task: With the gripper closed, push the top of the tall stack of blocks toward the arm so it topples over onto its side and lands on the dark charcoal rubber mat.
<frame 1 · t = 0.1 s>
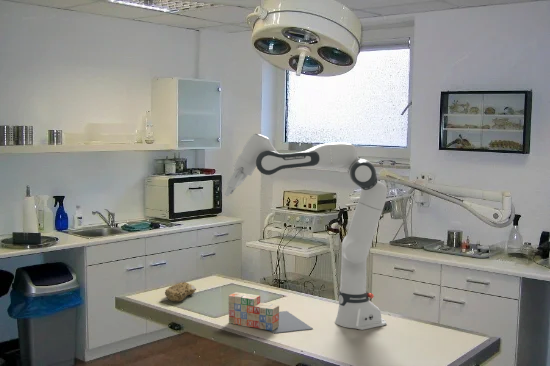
hand: (228, 194, 272), 54 cm above the table, tool tilted 30°, fingers open, 8 cm apart
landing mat: (280, 322, 271), on the table
brown rock: (179, 299, 303), on the table
stack of blocks: (253, 325, 265), on the table, touching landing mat
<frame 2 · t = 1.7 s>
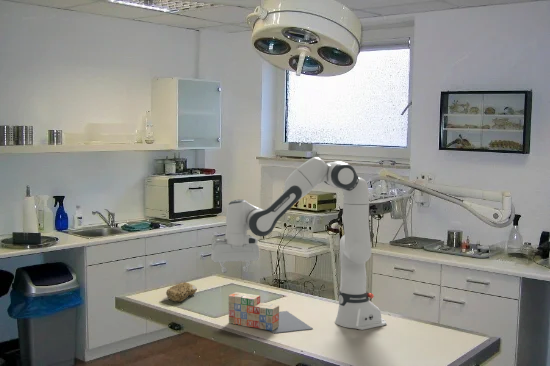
hand: (234, 271, 259), 24 cm above the table, tool pointing down, fingers open, 8 cm apart
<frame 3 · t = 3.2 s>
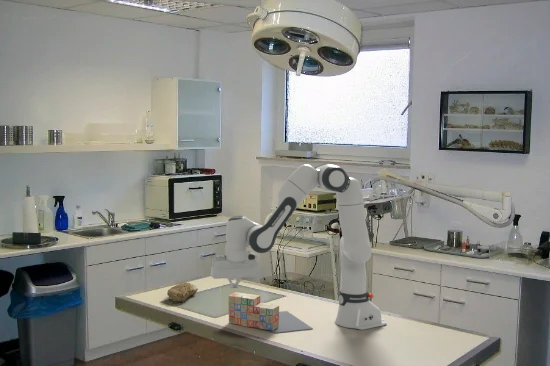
hand: (234, 287, 260), 17 cm above the table, tool pointing down, fingers closed
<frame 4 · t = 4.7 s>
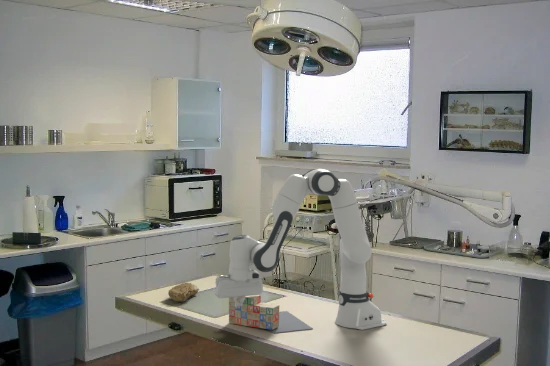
hand: (238, 306, 261), 9 cm above the table, tool pointing down, fingers closed
stack of blocks: (253, 325, 265), on the table, touching gripper, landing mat
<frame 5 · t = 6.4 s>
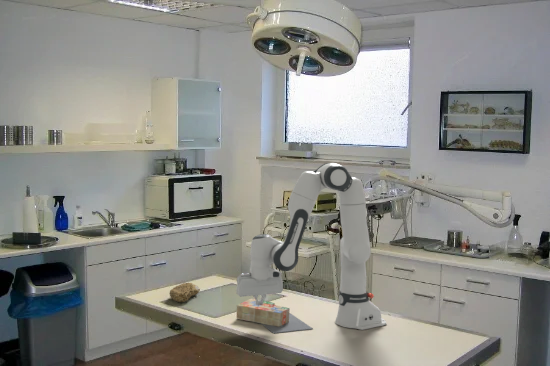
hand: (259, 304, 265), 9 cm above the table, tool pointing down, fingers closed
stack of blocks: (257, 316, 267), point 3 cm above the table, touching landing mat
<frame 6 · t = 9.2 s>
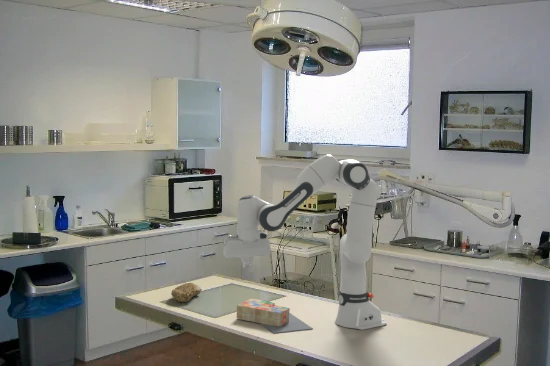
hand: (246, 267, 261), 25 cm above the table, tool pointing down, fingers closed
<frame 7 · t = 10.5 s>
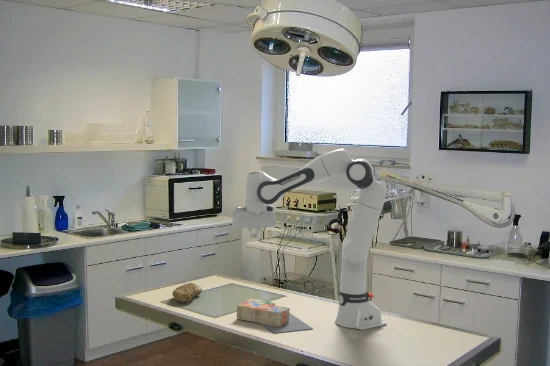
hand: (253, 237, 282), 34 cm above the table, tool pointing down, fingers closed
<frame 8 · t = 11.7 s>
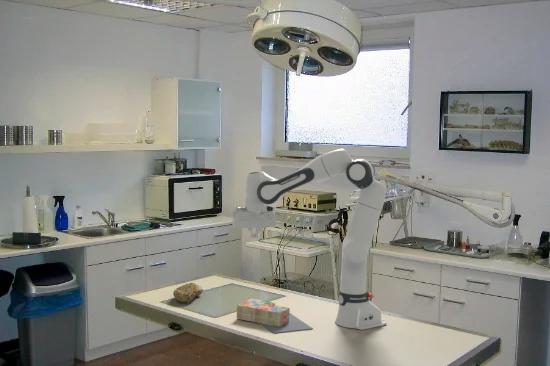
hand: (253, 237, 283), 34 cm above the table, tool pointing down, fingers closed
at the end: stack of blocks tilted 90°; stack of blocks inside the target area (2.0 cm from its centre), point 3.4 cm above the table; stack of blocks touching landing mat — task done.
